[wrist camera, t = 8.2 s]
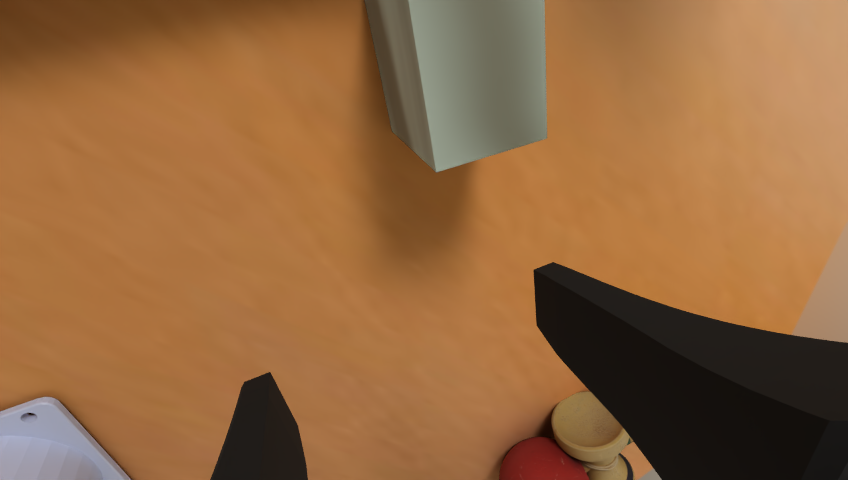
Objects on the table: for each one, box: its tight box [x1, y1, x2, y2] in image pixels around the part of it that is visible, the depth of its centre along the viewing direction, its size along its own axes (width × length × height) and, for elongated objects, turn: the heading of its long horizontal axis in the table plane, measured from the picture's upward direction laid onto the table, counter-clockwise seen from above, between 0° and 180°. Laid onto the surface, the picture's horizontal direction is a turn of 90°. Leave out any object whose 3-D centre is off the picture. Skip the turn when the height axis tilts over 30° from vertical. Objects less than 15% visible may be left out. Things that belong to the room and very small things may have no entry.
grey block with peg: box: [365, 0, 547, 172], centre depth 14 cm, size 4×8×5 cm, turn 10°
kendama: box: [499, 391, 635, 480], centre depth 32 cm, size 8×6×18 cm
